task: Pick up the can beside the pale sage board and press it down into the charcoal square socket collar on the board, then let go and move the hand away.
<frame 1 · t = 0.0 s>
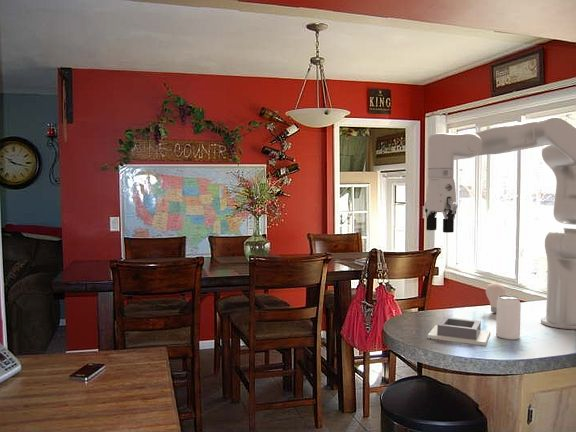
hand: (439, 231, 151), 31 cm above the table, tool pointing down, fingers open, 9 cm apart
can: (507, 337, 148), on the table
light bulb: (495, 313, 178), on the table
socket board: (459, 336, 148), on the table
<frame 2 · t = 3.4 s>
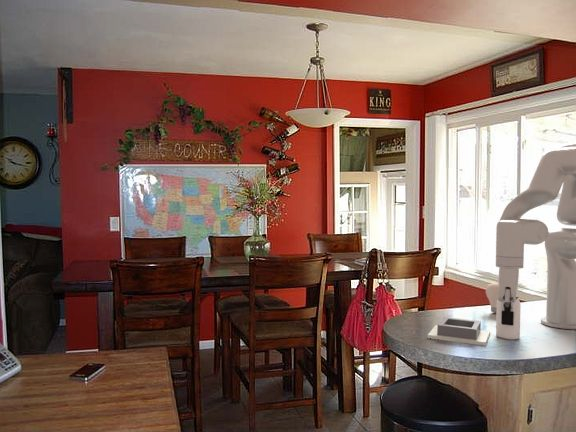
hand: (508, 321, 147), 5 cm above the table, tool pointing down, fingers closed on can, 6 cm apart
can: (507, 337, 148), on the table, touching gripper
everything else where it was.
when the fingers open (7 cm above the table, at t = 8.1 s): can drops 1 cm, resting on socket board.
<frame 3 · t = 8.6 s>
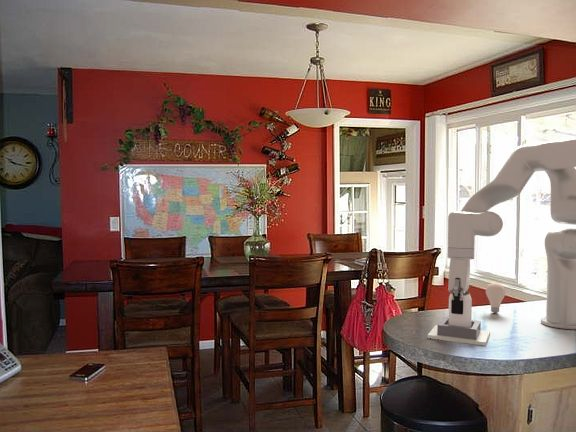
hand: (459, 310, 148), 8 cm above the table, tool pointing down, fingers open, 9 cm apart
can: (459, 333, 148), point 1 cm above the table, touching socket board
everything else where it was.
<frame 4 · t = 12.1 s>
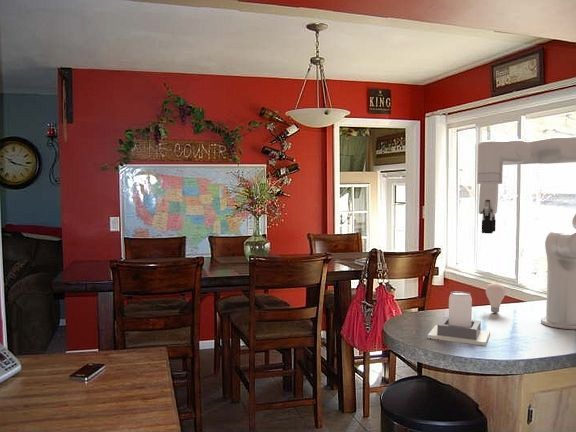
hand: (488, 232, 160), 30 cm above the table, tool pointing down, fingers open, 9 cm apart
nothing on the table moved.
at the end: can 0.3 cm off-centre on the socket board, point 0.8 cm above the socket board's base; can tilted 0°; the gripper is holding nothing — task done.
